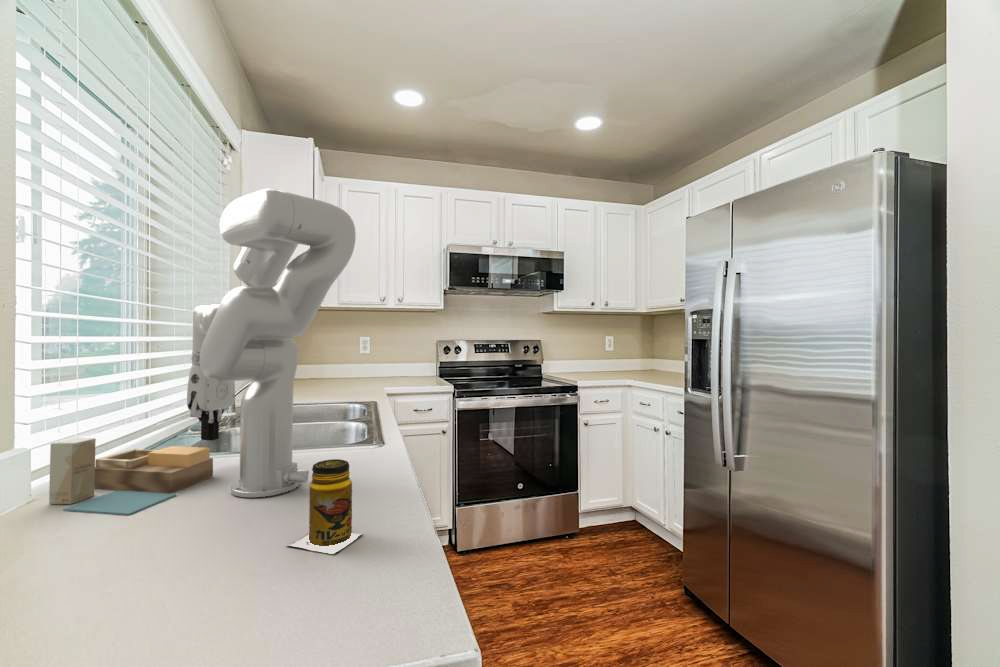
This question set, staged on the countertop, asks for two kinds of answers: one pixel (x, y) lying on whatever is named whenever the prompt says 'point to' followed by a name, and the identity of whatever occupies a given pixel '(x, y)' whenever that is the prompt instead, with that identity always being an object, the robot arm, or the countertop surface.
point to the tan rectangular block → (178, 456)
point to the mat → (120, 502)
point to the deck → (146, 473)
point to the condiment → (330, 503)
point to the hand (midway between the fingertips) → (209, 439)
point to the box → (72, 470)
